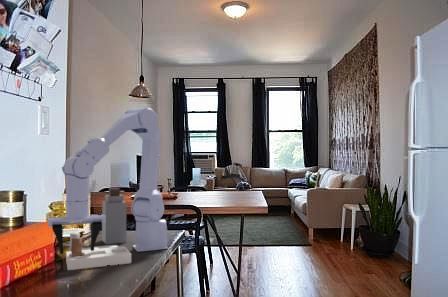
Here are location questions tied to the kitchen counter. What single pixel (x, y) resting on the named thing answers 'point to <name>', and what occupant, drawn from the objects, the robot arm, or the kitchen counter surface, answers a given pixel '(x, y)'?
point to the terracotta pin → (76, 247)
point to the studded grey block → (87, 247)
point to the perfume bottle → (114, 218)
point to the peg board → (98, 258)
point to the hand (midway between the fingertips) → (77, 251)
